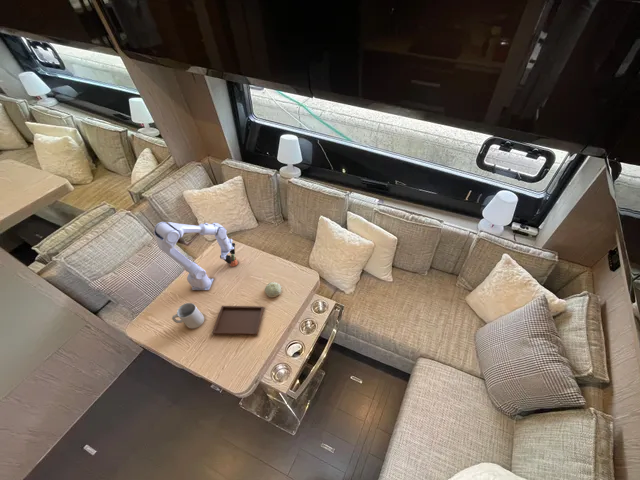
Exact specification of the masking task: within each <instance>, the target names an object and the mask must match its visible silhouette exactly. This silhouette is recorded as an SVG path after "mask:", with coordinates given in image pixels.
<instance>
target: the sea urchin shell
mask: <svg viewBox="0 0 640 480" xmlns="http://www.w3.org/2000/svg"><path fill="white" fill-rule="evenodd" d="M282 289H283V288H282V285H281V284H280V283H279V282H274V281H273V282H272V281H271V282H269V283H267V284H266V286H265V287H264V293H265V294H266V296H267V297H269V298H275V297H279V295H281V293H282Z"/></svg>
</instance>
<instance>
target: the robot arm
mask: <svg viewBox="0 0 640 480" xmlns="http://www.w3.org/2000/svg"><path fill="white" fill-rule="evenodd" d="M153 228H154V229H153V235H154V237H155V240H156V244H157V248H158V249H159V250H160V251H162V253H164V254H166V255H167V256H168V257H169V258H171V259H172V260H173V261H175V262H176V263H177V264H179V265H180V266H181V267H183V268H184V271H185V272H186V273H188V274H187V278H186V279H187V283H188V284H189V286H190V287H191V290H192V291H209V290H210V289H211V286H212V284H213V281H214V278H209V276H208V274H207V271H206V270H205V269H204V268H203V267H201V266H200V265H199V264H197V262H196V261H192V260H190V259H189V258H188V257H187V256H185V255H184V254H183V253H182V252H180V251H179V250H178V249H177V248H176V247H175V246H176V245H177V243H178V241H179V239H180V238H183V236H184V234H199V235H200V236H214V238H215V240H216V242H217V244H218V246H219V248H220V256H219V258H220V259H221V260H223V261H224V262H226V264H228V265H229V264H231V263H232V262H231V255H232V254H234V255H236V249H235V248H236V243H235V242H234V241H233V238H229V237H228V234H227V232H228V231H227V229H226V228H225V226H223V225H221V224H220V223H218V222H212V223H208V222H204V223H199V224H198V225H195V224H187V223H178V222H171V221H167V222H166V221H161V222H158V223H156V224H155V226H154V227H153ZM229 253H230V255H229Z"/></svg>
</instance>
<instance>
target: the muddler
mask: <svg viewBox="0 0 640 480" xmlns="http://www.w3.org/2000/svg"><path fill="white" fill-rule="evenodd" d="M230 255H231V260H232V262H233V261H234V260H235V257H236V254H230Z"/></svg>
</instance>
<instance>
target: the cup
mask: <svg viewBox="0 0 640 480" xmlns="http://www.w3.org/2000/svg"><path fill="white" fill-rule="evenodd" d="M231 262H232V260H231ZM238 264H239V262H238V259H237V257H236V256H235V260H234V261H233V262H232V263H231V264H228V265H229V266H230V267H232V268H233V267H236V266H237V265H238Z"/></svg>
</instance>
